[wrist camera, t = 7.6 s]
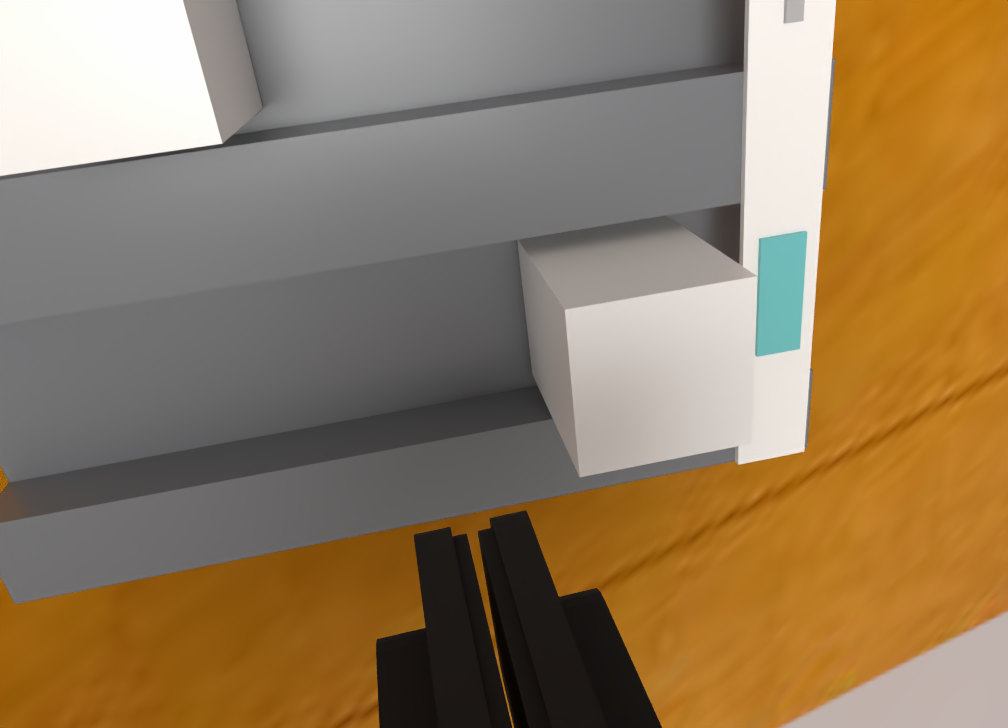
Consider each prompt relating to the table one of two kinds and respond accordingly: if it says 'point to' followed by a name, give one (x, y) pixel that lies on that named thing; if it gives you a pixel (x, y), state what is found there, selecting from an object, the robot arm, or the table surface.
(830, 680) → the table surface
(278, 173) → the switch panel
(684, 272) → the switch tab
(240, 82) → the switch tab middle
